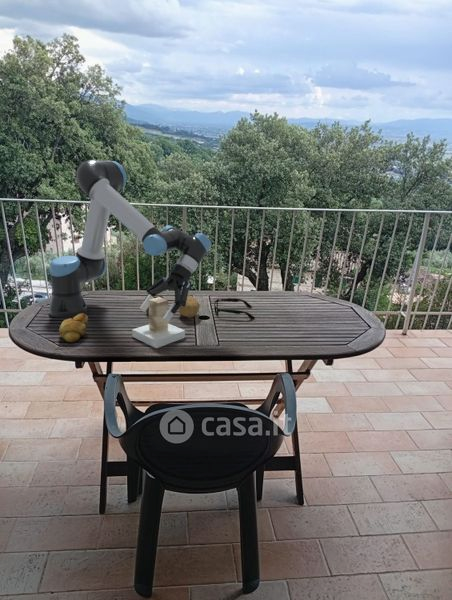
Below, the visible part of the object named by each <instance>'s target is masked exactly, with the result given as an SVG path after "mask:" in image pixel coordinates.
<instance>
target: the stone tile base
mask: <svg viewBox="0 0 452 600" xmlns="http://www.w3.org/2000/svg"><path fill="white" fill-rule="evenodd" d="M131 330H132V332H131V334H132V338H135V339H136V340H138V341H141V342H143V343H144V344H146V345H148V346H151V347H153V348H154V349H159V348H161V347H163V346H166V345H169V344H171V343H174V342H177V341H179V340H182V339H185V338H186V330H185V329H183V328H180V327H177V326H175V325H173V324H171V323H168V330H167V331H164V332H161V333H155V332H153V331H151V330H149V323H148V324H146V325H143V326H139V327H135V328H133V329H131Z"/></svg>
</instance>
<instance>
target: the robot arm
mask: <svg viewBox="0 0 452 600" xmlns="http://www.w3.org/2000/svg"><path fill="white" fill-rule="evenodd" d="M127 180H128V179H127V173H126V171H125V169H124V167H123V166H122V165H121V163H118V162H117V161H115V160H114V161H113V160H110V159H106V160H99V159H98V160H94V159H89V160H86V161H83V162H82V163H81V164H79V166H78V168H77V170H76V182H77V183H78V186H79V187H80V189H81V190H82V192H83V193H84V194H85V195H86V196H88V197H89V199H90V201H89V207H88V213H87V216H86V222H85V228H84V233H83V236H82V237H83V238H82V243H81V246H80V247H77V250H76V254H75V255H65V256H58V257H55V258H54V259H52V260H51V261H50V264H49V274H50V283H51V293H52V296H51V301H50V304H49V307H48V308H49V315H50V316H52V317H55V318H61V319H62V318H64V319H65V318H66V319H69V318H74V317H75V316H77V315H78V314H81V313H84V314H86V313H87V312H88V307H87V304H86V301H85V298H84V296H83V295H82V285H83V284H86V283H89V282H92V281H96V280H97V279H99V278H101V277H103V276H104V275H105V273H106V271H107V269H108V268H107V267H108V265H107V261H106V258H105V253H103V251H102V250H103V248H104V242H105V237H106V233H107V228H108V224H109V220H110V219H109V218H110V215H112V216H114V218H115V219H117V221H119V222H120V223H121V224H122V225H123V226H124V227H125V228H127V230H128V231H130V232H131V233H132V234H133V235H134V236H135V237H137V239H138V240H140V242H142V247H143V249H144V252H145V253H146V254H148V255H149V256H153V257H154V256H160V255H164V254H165V253H167V252H168V253H169V252H171V251H173V250H176V251H178V252H180V253H182V254H181V255H180V257H179V258H178V260H177V261H176V264H175V265H174V266H173V268H171V270H170V275H169V276H168V275H167V274H165V273H164V274H163V275H162V276H161V277H160V278H159V279H158V280H157V281H155V282H154V283H152V284H151V285H150V286H149V287H148V288H146V290H145V291H146V292H147V295H146V297H145V298H144V300H143V303H142V304H141V305H140V307H139V309H140V310H141V311H142V312H144V313H146V312H147V311H146V310H147V308H148V307H149V300H150V299H153V298H154V297H155V296H158V295H159V294H161V293H163V292H164V291H166V290H167V291H169V290H172V291H174V302H172V303H171V305H170V306H169V307H168V309H169V310H168V311H167V313H166V314H165V316H164V317H163V318H164V319H165V320H166V321H168V323H169V322H170V320H171V319H172V317H173V316H174V315H175V314H177V312H178V308H179V307H181V306H183V307H185V306H186V301H187V296H189V290H190V289H191V286H192V285H191V283H190V282H189V280H190V279H191V277H192V274H195V273H194V272H195V271H196V270H197V267H198V266H199V265H200V263H201V262H202V260H203V259H204V257H205V256H206V255H207V253H208V251H209V250H210V247H211V245H212V242H211V239H210V238H209V237H208V236H207V235H205V234H203V233H201V232H197V233H195V235H191V234H188V233H186V232H184V231H183V230H180V229H179V228H178V227H175V226H172V225H165V226H164V227H163V228H162V229H161V230H160V229H159V228H157V227H156V226H155V225H154V224H152V222H151V221H150V220H149V219H147V218H146V217H145V216H144V215H143V214H142V213H141V212H140V211H138V210H137V208H136V207H134V206H133V205H132V204H131V203H130V202H129V201H128V200H127V199H125V198H124V196H122V195H121V193H119V192H120V190H122V189H123V188H125V186H126V183H127Z"/></svg>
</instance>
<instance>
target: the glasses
mask: <svg viewBox="0 0 452 600" xmlns="http://www.w3.org/2000/svg"><path fill="white" fill-rule="evenodd" d="M219 302H232V303H233V302H234V303H238V302H243V304H244V305H245V306H246V307H247V308H248V307H252V308H253V306H252V305H251V304H250V303H248V301H246V300H244V299H242V298H220V299H218V298H217V299H216V300H215V301H214V303H213V305H214V306H213V307H214V309H213V310H214V313H216V314H217V316H216V317H219V313H220V312H224V313H229V314H236V315H241V314H244V315H246V316H247V317H248V318H249V319H251V320H255V319H256V318H255V316H254V315H252V314H251V313H249V312H247V311H244V310H235V309H223V308H222V309H219V307H218V306H219ZM216 309H217V310H216ZM254 318H255V319H254Z"/></svg>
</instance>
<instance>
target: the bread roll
mask: <svg viewBox="0 0 452 600" xmlns="http://www.w3.org/2000/svg"><path fill="white" fill-rule="evenodd" d="M88 322H89V317H88V315H87V314H86V313H81V314H78V315H77V316H75V317H69V318H66V319H64V320H63V321H62V322H61V324H60V326H59V329H58V333H59V336H60V337H61V338H62V339H64V340H65V342H68V343H74V342H77V341H79V339H80V338H81V337H84V336H85V334H86V330H87V325H88Z"/></svg>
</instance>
